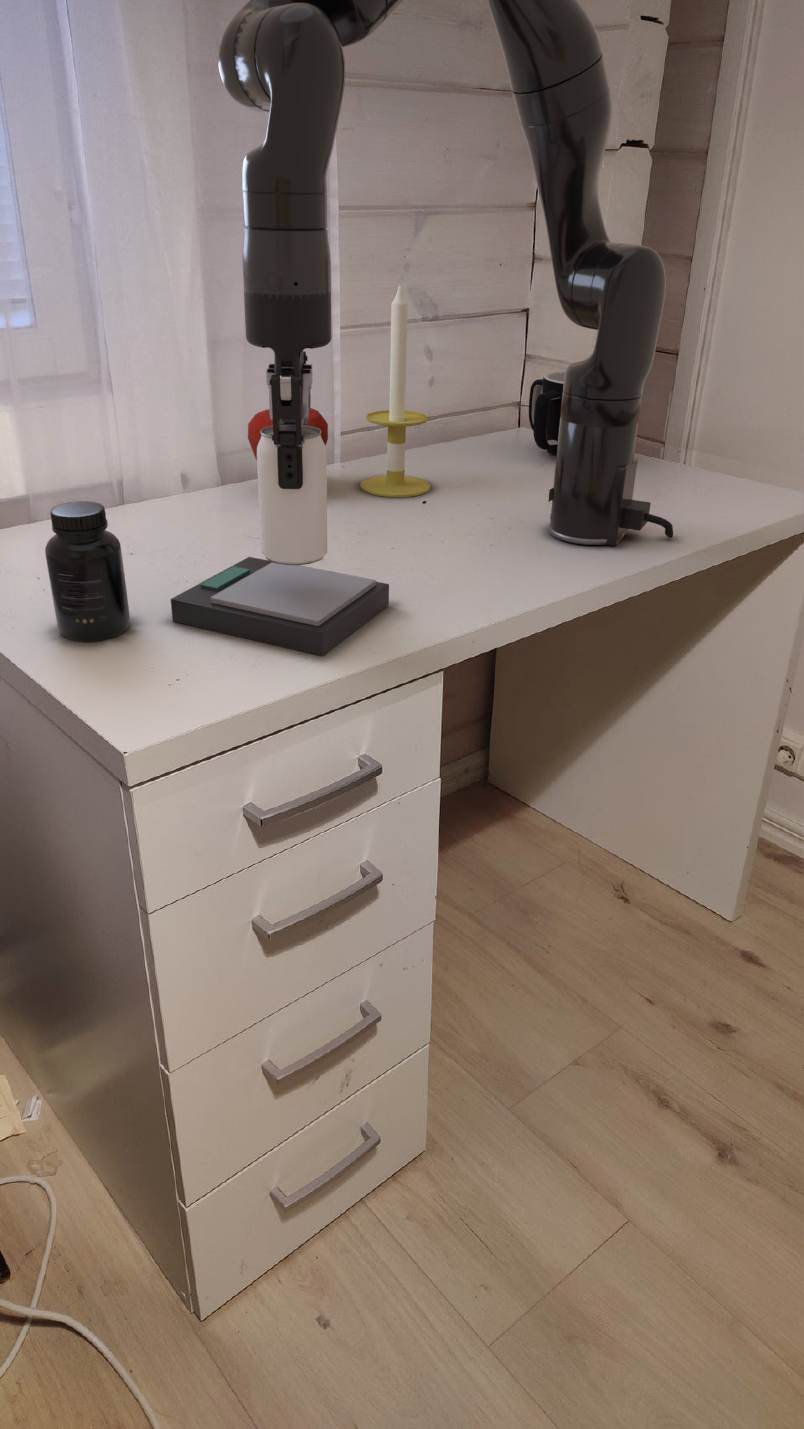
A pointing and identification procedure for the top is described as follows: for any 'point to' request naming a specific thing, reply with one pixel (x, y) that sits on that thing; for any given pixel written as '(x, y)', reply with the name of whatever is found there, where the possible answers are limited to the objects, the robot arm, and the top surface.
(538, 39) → the robot arm
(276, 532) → the can
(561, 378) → the mug
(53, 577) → the supplement bottle
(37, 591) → the top surface
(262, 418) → the apple
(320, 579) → the scale
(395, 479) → the candle
